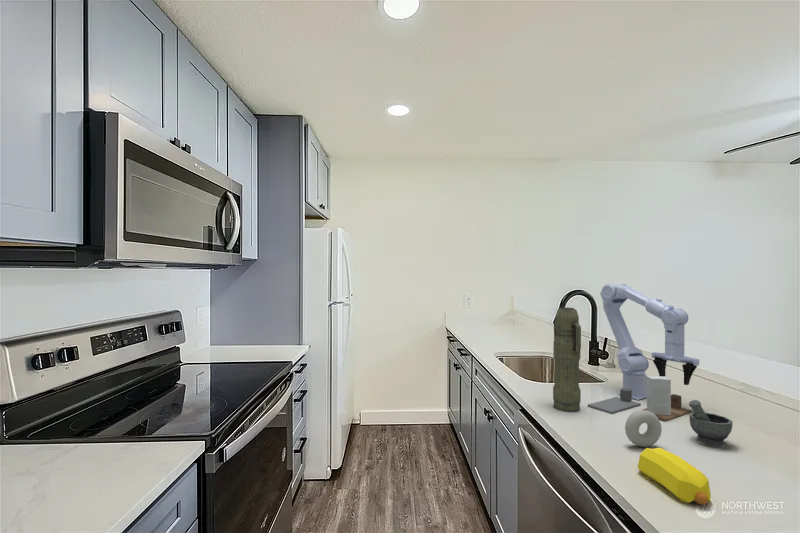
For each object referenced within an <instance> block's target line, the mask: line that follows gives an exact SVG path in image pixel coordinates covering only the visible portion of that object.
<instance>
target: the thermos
mask: <svg viewBox="0 0 800 533" xmlns="http://www.w3.org/2000/svg"><path fill="white" fill-rule="evenodd" d="M554 317H555V318H554V320H555V321H554V322H553V344H552V346H553V348H552V349H553V353H552V354H553V355H552V356H553V359H554V384H553V387H552V399H553V404H552V405H553V408H554V409H555V410H558V411H561V410H562V411H561V412H566V411H567V413H574V412H575V413H576V412H579V411H581V407H580V405H581V397H582V396H581V388H580V359H581V348H582V327H581V325H580V321H579V320H580V319H579V318H580V317H579V314H578V310H577V309H575V308H574V307H560V308H557V311H556V313H555V316H554Z"/></svg>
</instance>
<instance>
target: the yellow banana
mask: <svg viewBox="0 0 800 533" xmlns="http://www.w3.org/2000/svg"><path fill="white" fill-rule="evenodd" d="M637 463H638V464H637V469H638V470H639V471H640V472H641V473H642V474H644V475H645V476H647V477H648V478H650V479H651V480H653V481H654V482H656V483H658V484H660V485H661V486H663V487H664V488H665V489H667V491H668V492H670V493H671V494H673V495H674V496H675V497H676V498H677V499H679V500H680V501H681V502H682V503H687V504H689V503H691V502H695V503H696V504H698V505H706V504H707V503H708V502H711V498H712V497H711V494H712V493H711V488H710V481H709V478H708V477H707V476H706V475H705V474H704V473H703V472H702V471H701V470H699V469H698V468H696V466H695V467H694V466H693V465H692V464H690V463H689V462H688V461H686V460H685V459H684V458H682V457H681V456H678V455H676V454H674V453H671V452H670V451H668V450H666V449H664V448H662V447H655V448H650V447H649V448H648V447H645V449H644V450H643V451H642V452H640V454H639V458H638V462H637Z"/></svg>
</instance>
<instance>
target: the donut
mask: <svg viewBox="0 0 800 533" xmlns="http://www.w3.org/2000/svg"><path fill="white" fill-rule="evenodd" d="M642 424H646V425H647V426H646V427H647V429H646V431H645V432H644V433H640V427H641V425H642ZM662 429H663V428H662V424H661V420H659V419H658V417H657V416H656V415H655V414H653V413H652V412H650V411H646V410H643V409H641V410H639V409H638V410H636V411H634V412H632V413H631V414H629V416H628V418H626V421H625V425H624V431H625V432H624V433H625V435H626V437H627V439H628V440H629V441H630V442H631V444H633V445H635V446H637V447H641V448H648V447H651V446H653V445H655V444H656V443H657V442H658V441H659V440H660V437H661V435H662Z"/></svg>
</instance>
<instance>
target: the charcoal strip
mask: <svg viewBox="0 0 800 533" xmlns="http://www.w3.org/2000/svg"><path fill="white" fill-rule="evenodd" d="M619 391H620V392H619V393H620V395H619V396H620V397H618V396H614V397H611V398H607V399H606V398H605V399H603V400H599V401H595V402H593V403H589V404H587V407H588V408H592V409H596V410H599V411H602V412H606V413H608V414H612V415H613V414H616V413H619V412H623V411H625V410H629V409H632V408H637V407H638V406H639V407H640V406H641V404H642V403H641V402H637V401H633V398H632V390H630V389H626V388H624V389H623V388H621V389H620V390H619Z"/></svg>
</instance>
